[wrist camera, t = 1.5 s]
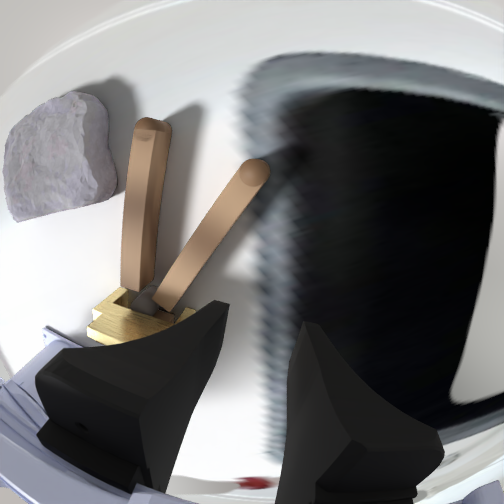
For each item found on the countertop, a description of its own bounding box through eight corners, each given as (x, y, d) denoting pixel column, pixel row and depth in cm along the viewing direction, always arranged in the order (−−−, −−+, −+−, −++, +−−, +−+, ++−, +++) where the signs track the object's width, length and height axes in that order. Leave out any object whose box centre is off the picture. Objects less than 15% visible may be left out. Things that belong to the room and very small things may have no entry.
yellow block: (192, 340, 22) (165, 389, 17) (120, 316, 23) (82, 355, 17) (195, 310, 22) (166, 357, 16) (120, 287, 22) (76, 322, 16)
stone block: (35, 131, 21) (34, 225, 22) (3, 121, 16) (-2, 227, 17) (125, 90, 20) (126, 204, 21) (94, 68, 15) (89, 201, 16)
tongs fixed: (171, 350, 24) (161, 367, 21) (136, 337, 24) (123, 353, 21) (200, 125, 18) (188, 120, 15) (153, 120, 18) (136, 116, 16)
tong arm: (180, 298, 22) (169, 312, 19) (164, 285, 21) (151, 298, 19) (275, 169, 18) (273, 169, 16) (255, 154, 18) (250, 153, 15)
